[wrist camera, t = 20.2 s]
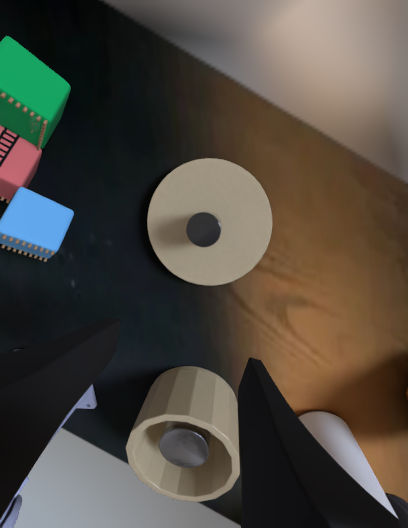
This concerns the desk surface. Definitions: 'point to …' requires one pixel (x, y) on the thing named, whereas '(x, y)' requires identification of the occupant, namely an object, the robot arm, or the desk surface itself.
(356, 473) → the can
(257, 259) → the pot lid
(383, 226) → the desk surface
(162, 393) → the beige hollow cylinder
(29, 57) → the building blocks
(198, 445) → the tin
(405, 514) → the travel mug
